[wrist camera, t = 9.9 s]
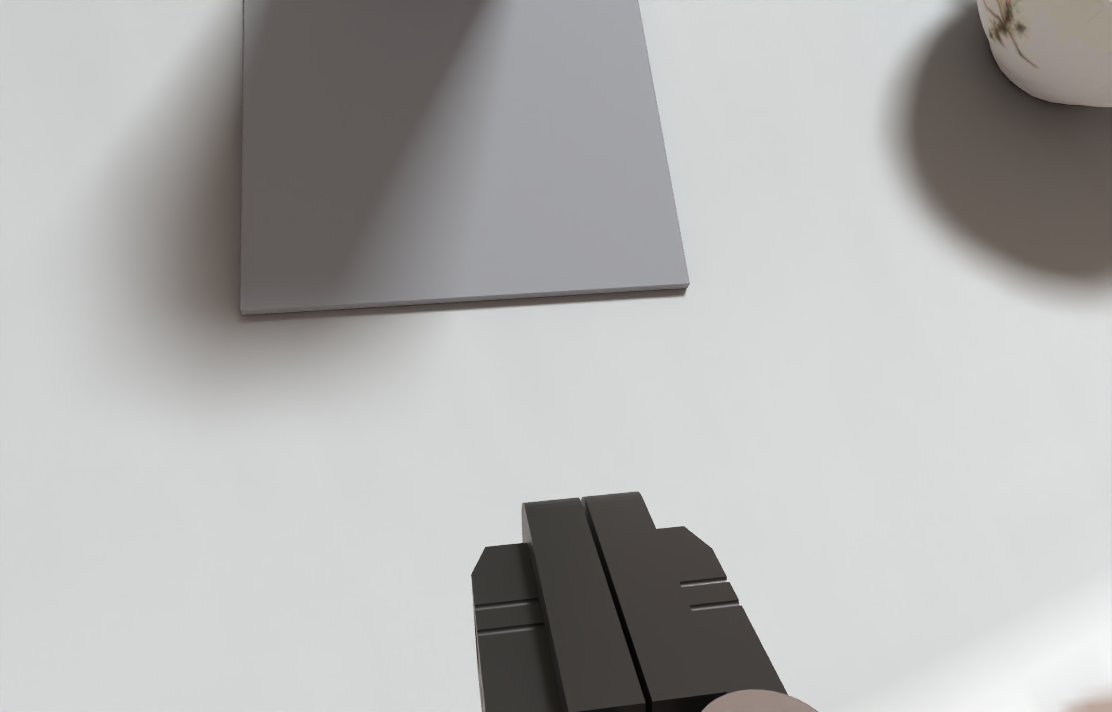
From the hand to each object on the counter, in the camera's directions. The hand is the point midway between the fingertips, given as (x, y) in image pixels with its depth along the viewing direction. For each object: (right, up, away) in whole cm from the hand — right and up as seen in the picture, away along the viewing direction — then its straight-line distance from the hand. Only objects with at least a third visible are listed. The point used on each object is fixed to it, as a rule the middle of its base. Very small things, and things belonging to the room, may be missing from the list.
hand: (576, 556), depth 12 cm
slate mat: (-5, +15, +25) cm, 29 cm away
